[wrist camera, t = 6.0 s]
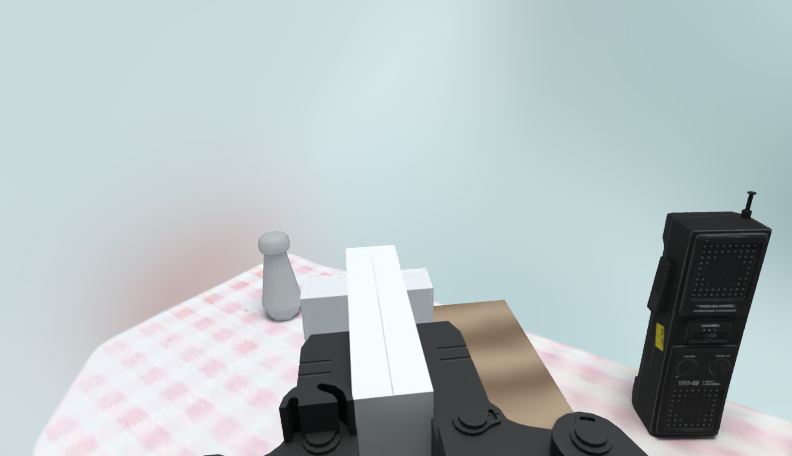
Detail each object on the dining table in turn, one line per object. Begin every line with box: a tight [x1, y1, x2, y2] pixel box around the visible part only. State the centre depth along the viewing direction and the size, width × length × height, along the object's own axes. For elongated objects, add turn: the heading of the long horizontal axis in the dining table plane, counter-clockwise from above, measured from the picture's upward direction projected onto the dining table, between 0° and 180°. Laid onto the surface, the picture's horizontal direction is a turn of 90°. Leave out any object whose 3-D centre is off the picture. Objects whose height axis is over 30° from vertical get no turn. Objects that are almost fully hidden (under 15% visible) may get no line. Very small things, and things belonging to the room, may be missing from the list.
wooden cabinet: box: [433, 300, 574, 429], centre depth 43 cm, size 24×14×12 cm, turn 6°
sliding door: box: [300, 268, 433, 342], centre depth 39 cm, size 25×6×28 cm, turn 6°
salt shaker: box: [258, 231, 301, 321], centre depth 70 cm, size 6×6×13 cm
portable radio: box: [632, 191, 772, 436], centre depth 47 cm, size 8×6×25 cm
